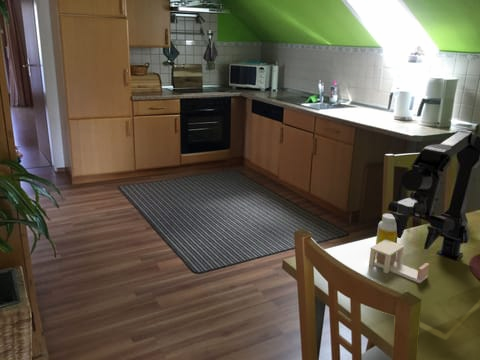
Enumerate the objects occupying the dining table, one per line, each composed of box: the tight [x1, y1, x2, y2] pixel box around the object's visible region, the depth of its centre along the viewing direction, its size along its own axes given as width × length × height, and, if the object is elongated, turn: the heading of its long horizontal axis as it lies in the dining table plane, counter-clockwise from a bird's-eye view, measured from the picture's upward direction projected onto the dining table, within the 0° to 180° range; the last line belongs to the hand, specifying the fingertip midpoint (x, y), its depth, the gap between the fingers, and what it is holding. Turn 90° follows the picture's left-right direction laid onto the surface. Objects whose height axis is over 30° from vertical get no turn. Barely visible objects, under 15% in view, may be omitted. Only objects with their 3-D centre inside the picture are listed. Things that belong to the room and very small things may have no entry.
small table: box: [368, 239, 405, 274], centre depth 136 cm, size 9×30×7 cm, turn 43°
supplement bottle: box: [375, 213, 398, 245], centre depth 149 cm, size 7×7×13 cm
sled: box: [374, 252, 430, 284], centre depth 135 cm, size 5×16×5 cm, turn 43°
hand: (411, 243), depth 128 cm, fingers open, 9 cm apart
